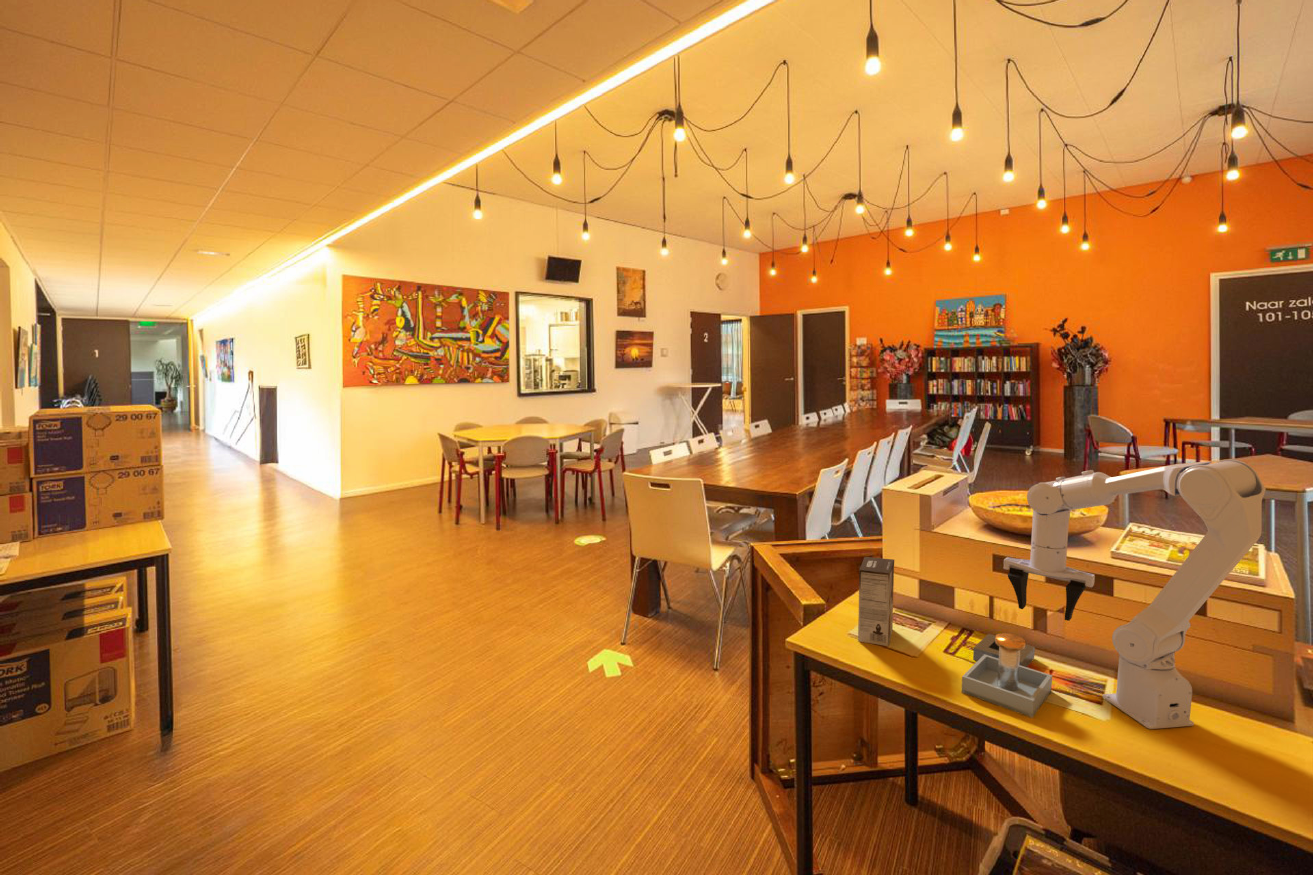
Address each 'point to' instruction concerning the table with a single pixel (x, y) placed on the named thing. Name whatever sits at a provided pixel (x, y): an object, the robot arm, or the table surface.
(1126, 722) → the table surface
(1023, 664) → the grey square socket block
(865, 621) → the coffee box
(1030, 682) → the tray
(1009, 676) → the pin
